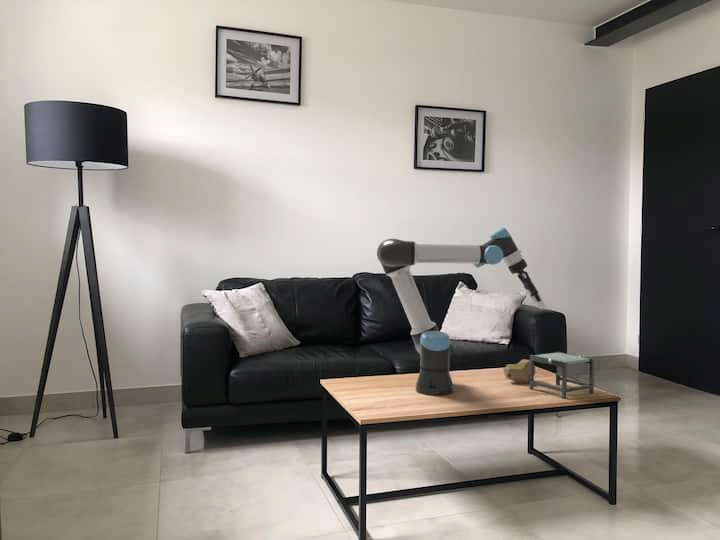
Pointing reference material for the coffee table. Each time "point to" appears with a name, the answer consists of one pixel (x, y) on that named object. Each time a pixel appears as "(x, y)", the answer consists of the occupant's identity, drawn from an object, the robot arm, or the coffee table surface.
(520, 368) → the low-poly potato
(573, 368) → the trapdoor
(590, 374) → the stand
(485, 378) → the coffee table surface
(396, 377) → the coffee table surface
